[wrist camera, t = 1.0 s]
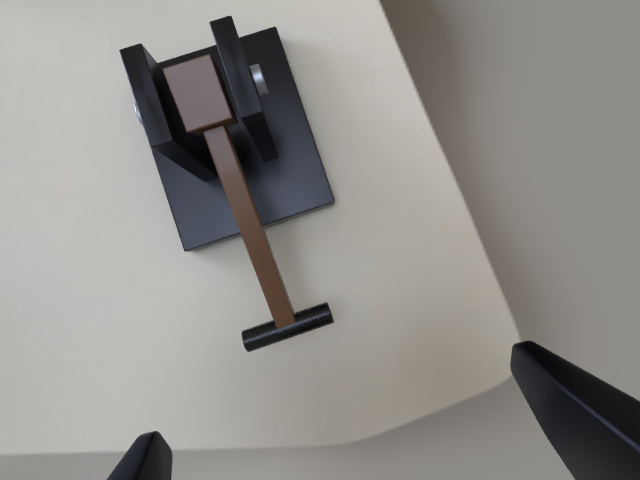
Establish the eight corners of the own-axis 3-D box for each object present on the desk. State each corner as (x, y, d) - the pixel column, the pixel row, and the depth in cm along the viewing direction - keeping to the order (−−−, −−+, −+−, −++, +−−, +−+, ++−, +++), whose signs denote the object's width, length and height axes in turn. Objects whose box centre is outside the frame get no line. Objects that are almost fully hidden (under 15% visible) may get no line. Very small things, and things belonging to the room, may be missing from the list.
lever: (331, 312, 22) (337, 331, 19) (250, 340, 21) (247, 362, 19) (245, 58, 18) (240, 43, 16) (149, 89, 18) (130, 78, 16)
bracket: (334, 204, 24) (347, 176, 15) (190, 251, 24) (120, 251, 15) (277, 36, 24) (258, -84, 16) (134, 81, 24) (34, -17, 15)
